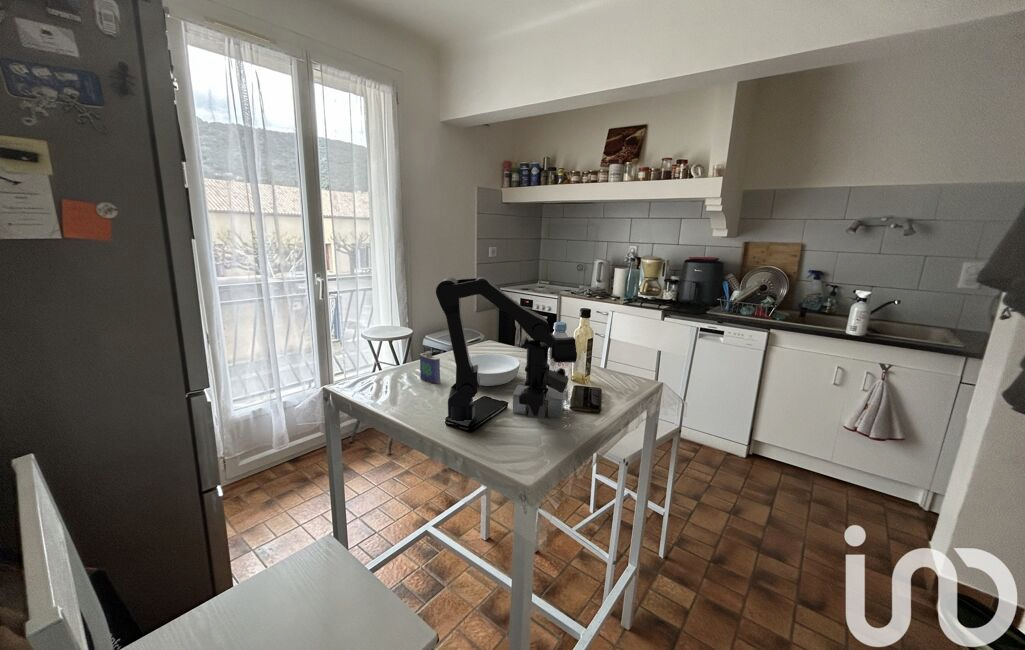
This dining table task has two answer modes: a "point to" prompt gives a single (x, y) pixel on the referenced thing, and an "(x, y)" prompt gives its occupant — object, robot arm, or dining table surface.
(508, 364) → the serving bowl
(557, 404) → the grey arch block
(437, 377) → the flask
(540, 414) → the plug
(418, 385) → the dining table surface
